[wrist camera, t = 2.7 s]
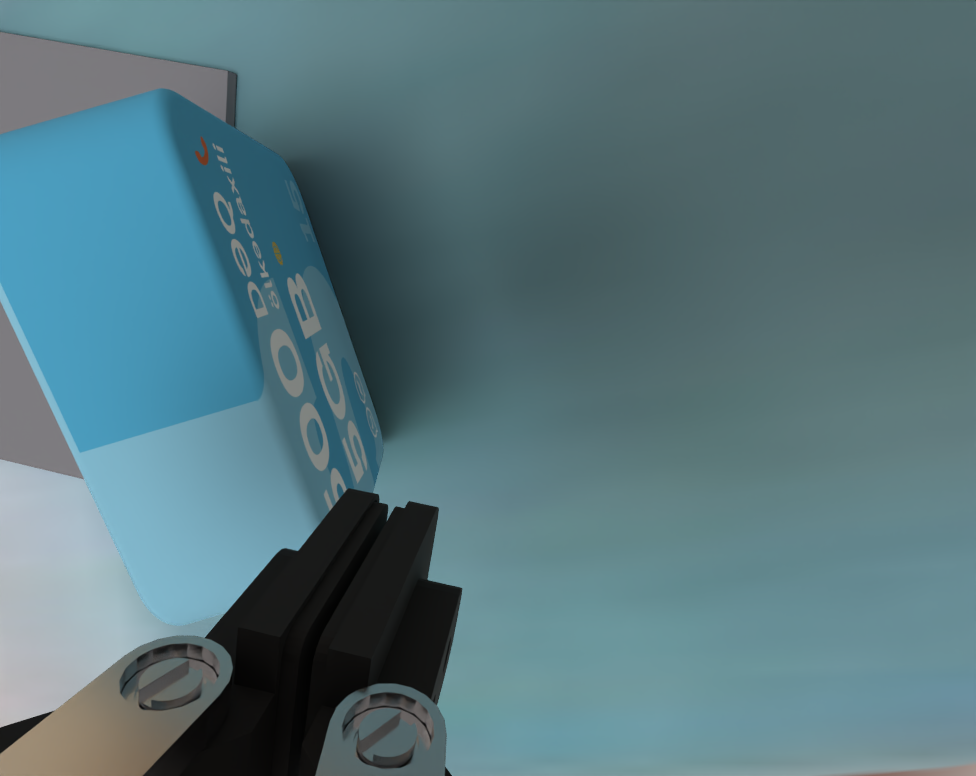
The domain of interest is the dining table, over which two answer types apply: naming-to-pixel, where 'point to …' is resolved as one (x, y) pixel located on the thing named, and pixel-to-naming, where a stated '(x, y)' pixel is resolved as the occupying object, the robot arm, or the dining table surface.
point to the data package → (183, 341)
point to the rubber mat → (48, 95)
